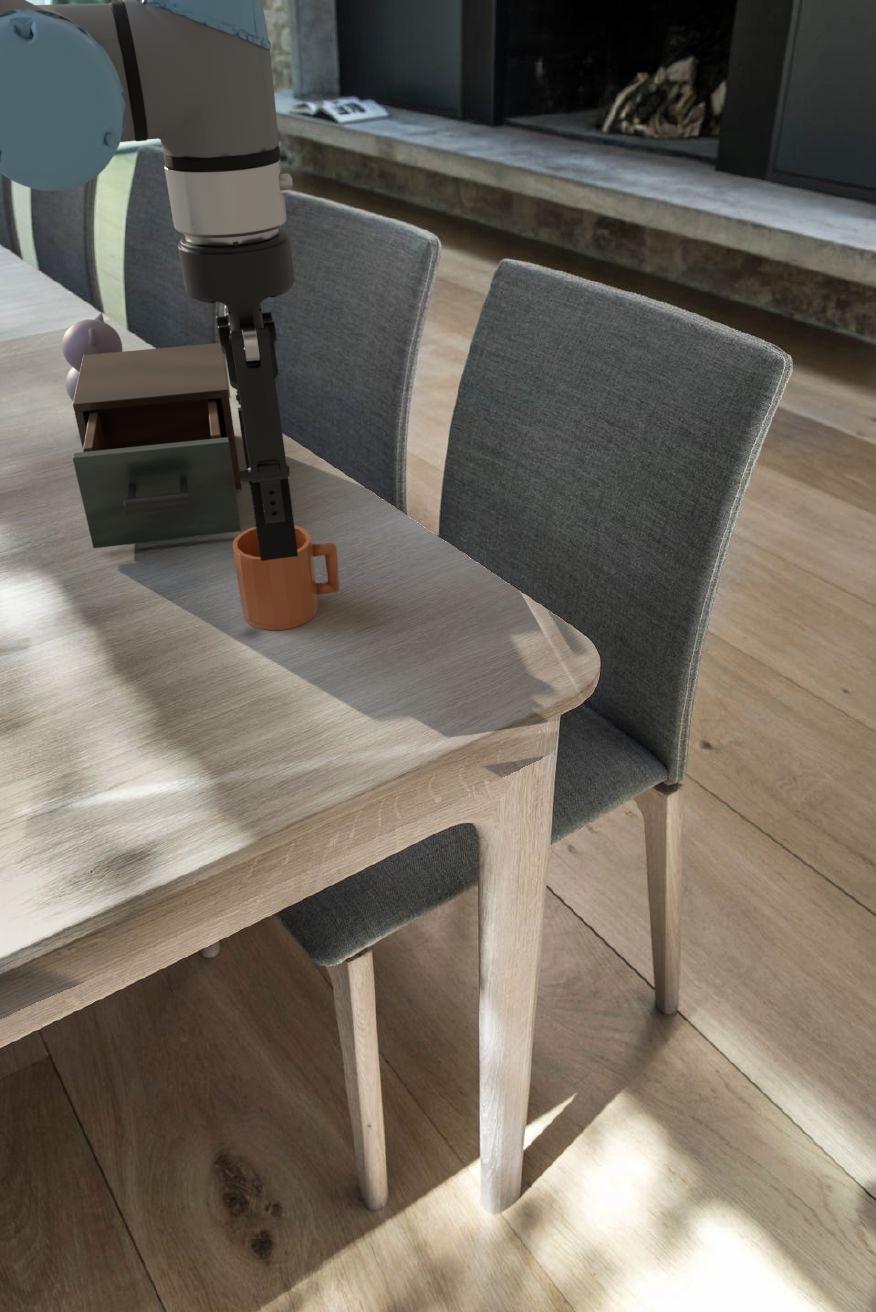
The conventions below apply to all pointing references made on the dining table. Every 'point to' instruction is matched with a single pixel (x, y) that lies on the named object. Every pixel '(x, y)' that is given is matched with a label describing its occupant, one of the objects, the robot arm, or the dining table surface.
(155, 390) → the cabinet
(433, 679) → the dining table surface
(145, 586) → the dining table surface
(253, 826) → the dining table surface
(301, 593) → the mug
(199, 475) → the drawer
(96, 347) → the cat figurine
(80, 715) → the dining table surface
